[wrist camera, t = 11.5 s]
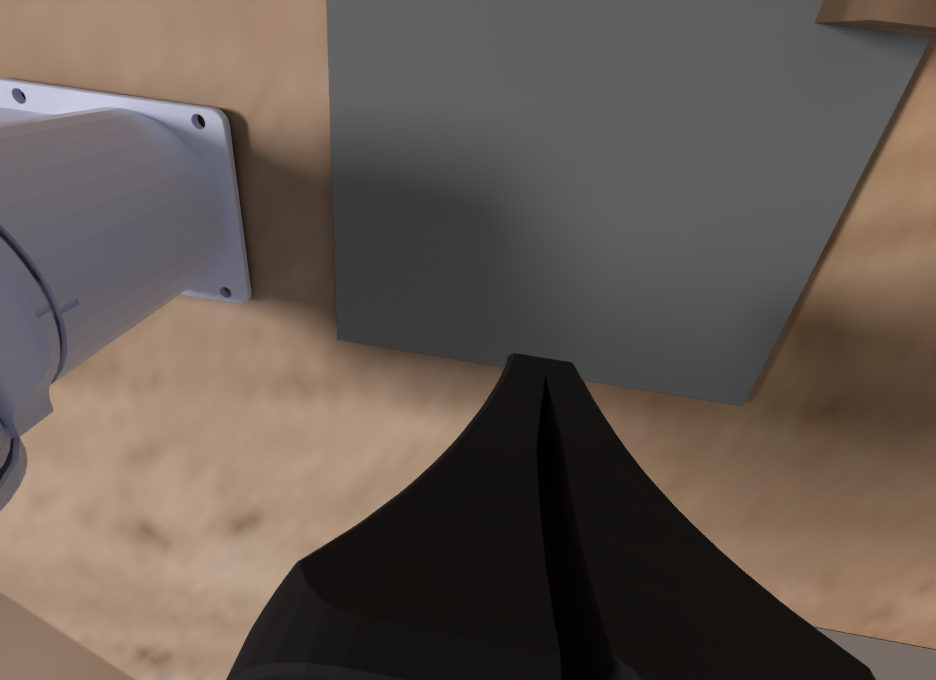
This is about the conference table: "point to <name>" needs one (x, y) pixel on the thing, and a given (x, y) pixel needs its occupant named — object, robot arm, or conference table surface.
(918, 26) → the brown cube
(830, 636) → the gray hollow frame
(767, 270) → the mat
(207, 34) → the conference table surface
